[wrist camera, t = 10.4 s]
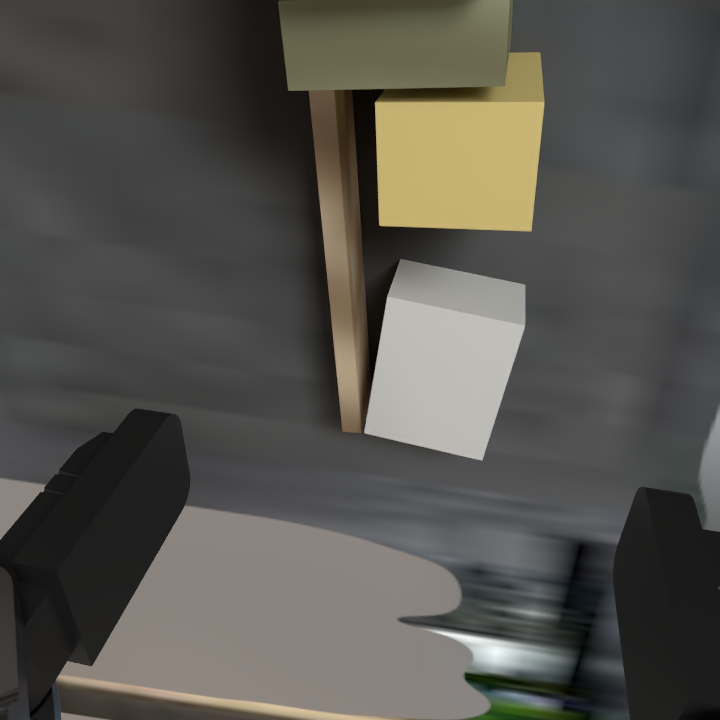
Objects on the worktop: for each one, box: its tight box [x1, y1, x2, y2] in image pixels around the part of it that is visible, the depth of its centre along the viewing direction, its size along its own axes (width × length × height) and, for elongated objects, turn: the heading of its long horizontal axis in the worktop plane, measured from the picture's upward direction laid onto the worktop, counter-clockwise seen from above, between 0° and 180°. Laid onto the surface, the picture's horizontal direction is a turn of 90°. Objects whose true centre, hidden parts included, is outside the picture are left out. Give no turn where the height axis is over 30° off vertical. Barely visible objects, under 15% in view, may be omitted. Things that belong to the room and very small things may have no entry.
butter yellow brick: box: [375, 52, 544, 231], centre depth 24 cm, size 4×5×8 cm
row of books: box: [278, 0, 513, 433], centre depth 24 cm, size 30×8×10 cm, turn 4°
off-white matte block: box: [364, 259, 525, 460], centre depth 32 cm, size 8×6×4 cm
